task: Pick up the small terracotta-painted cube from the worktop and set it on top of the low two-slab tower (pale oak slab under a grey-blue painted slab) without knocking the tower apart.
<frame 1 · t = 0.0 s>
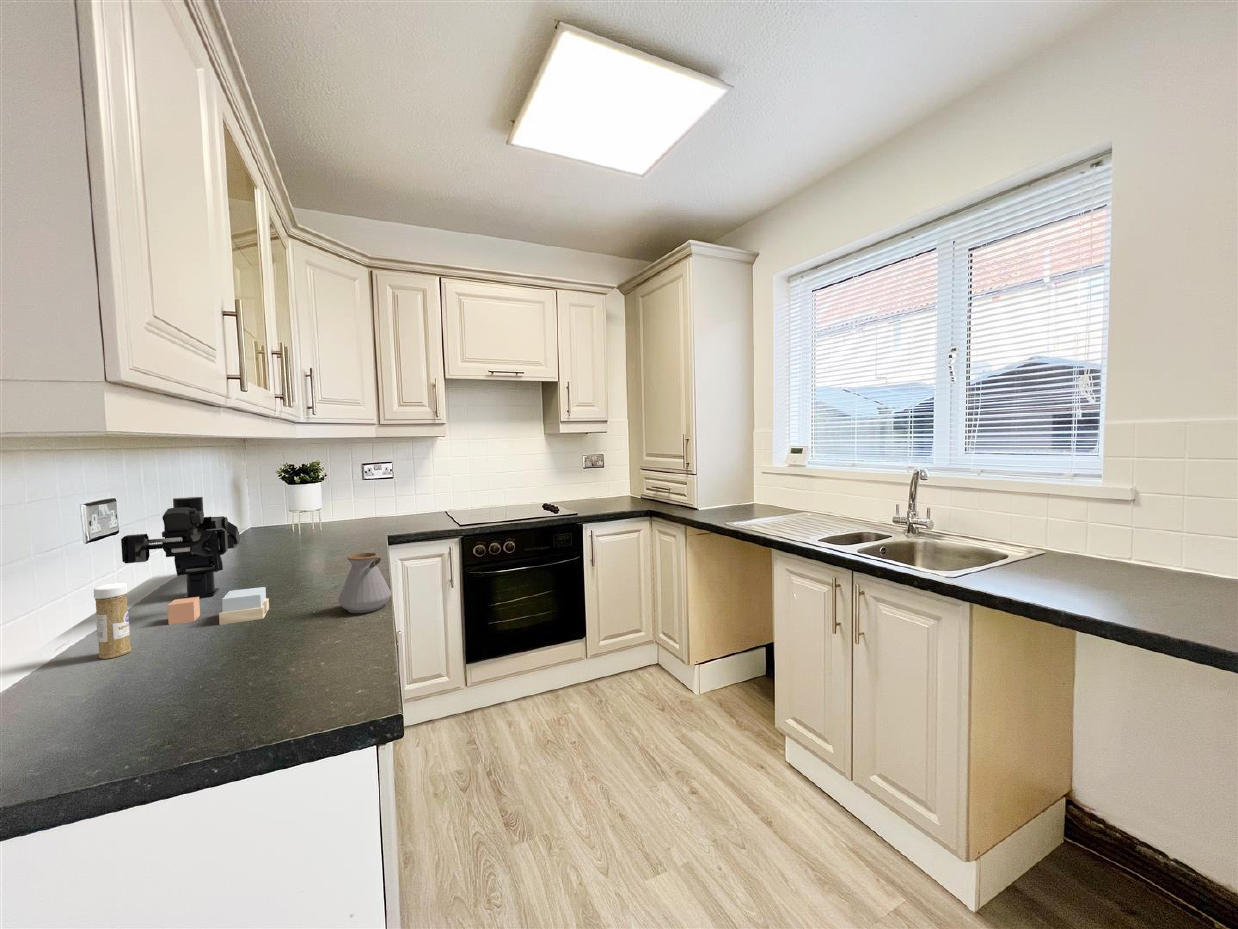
hand: (164, 552, 110), 17 cm above the countertop, tool horizontal, fingers open, 9 cm apart
oak base slab: (245, 618, 117), on the countertop, touching grey-blue top slab
grey-blue top slab: (245, 605, 117), point 3 cm above the countertop, touching oak base slab
coffee pot: (370, 614, 118), on the countertop
sprinkles bottle: (115, 655, 96), on the countertop
terracotta cube: (184, 620, 115), on the countertop
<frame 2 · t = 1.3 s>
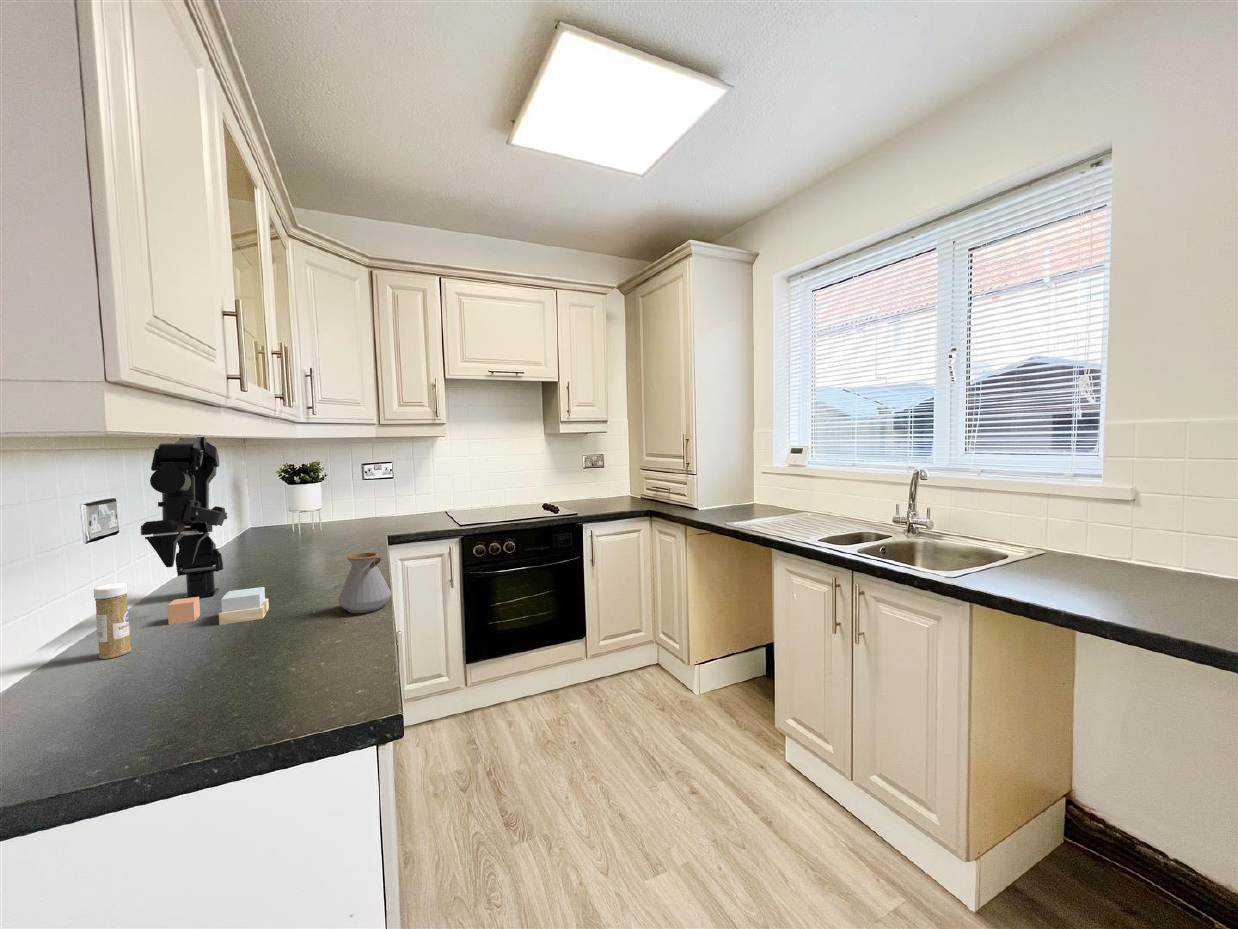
hand: (180, 565, 114), 13 cm above the countertop, tool pointing down, fingers open, 9 cm apart
oak base slab: (245, 618, 117), on the countertop
grey-blue top slab: (244, 605, 117), point 2 cm above the countertop
everything else where it was.
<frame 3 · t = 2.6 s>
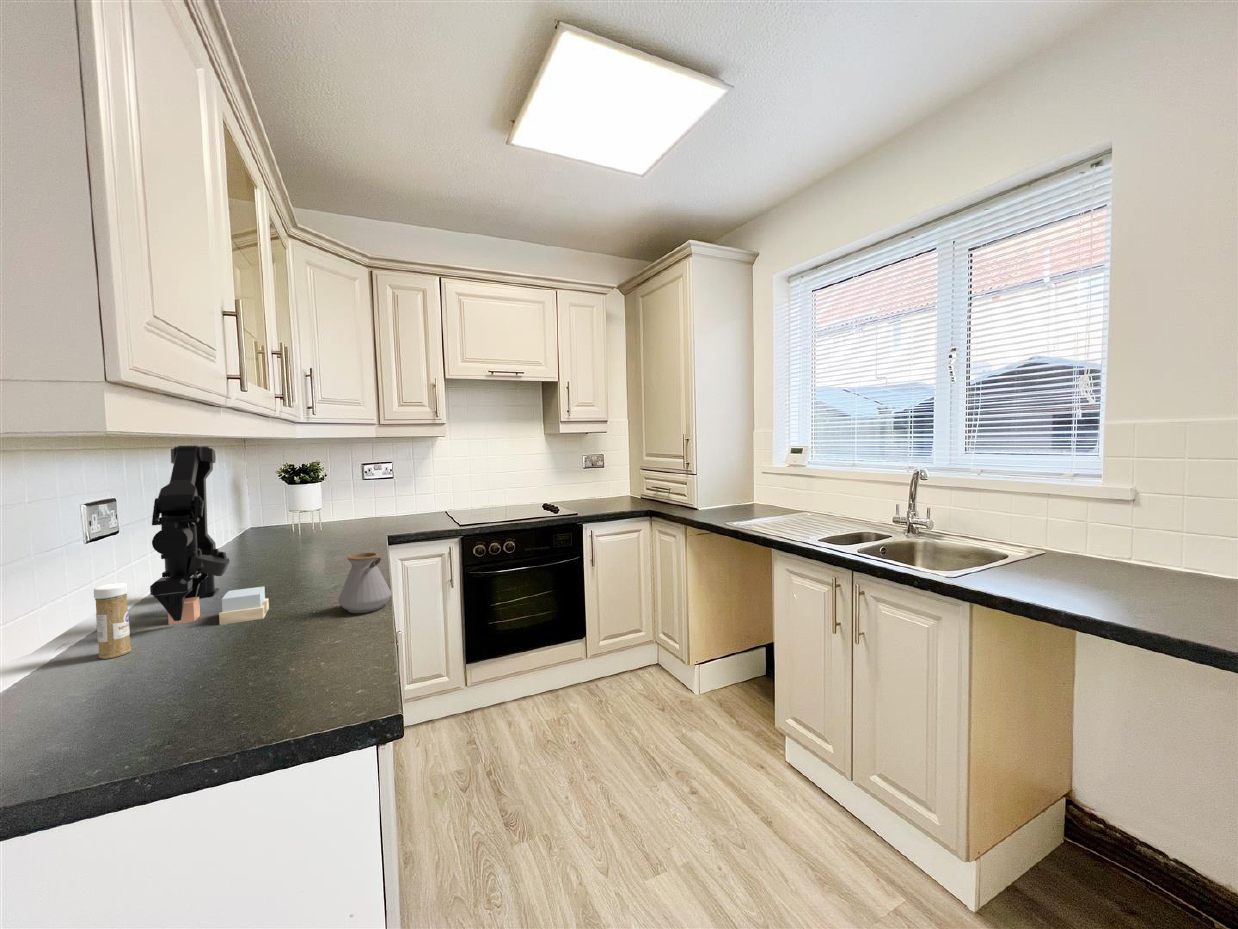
hand: (184, 614, 115), 1 cm above the countertop, tool pointing down, fingers open, 9 cm apart
oak base slab: (245, 618, 117), on the countertop, touching grey-blue top slab
grey-blue top slab: (244, 605, 117), point 3 cm above the countertop, touching oak base slab
everything else where it was.
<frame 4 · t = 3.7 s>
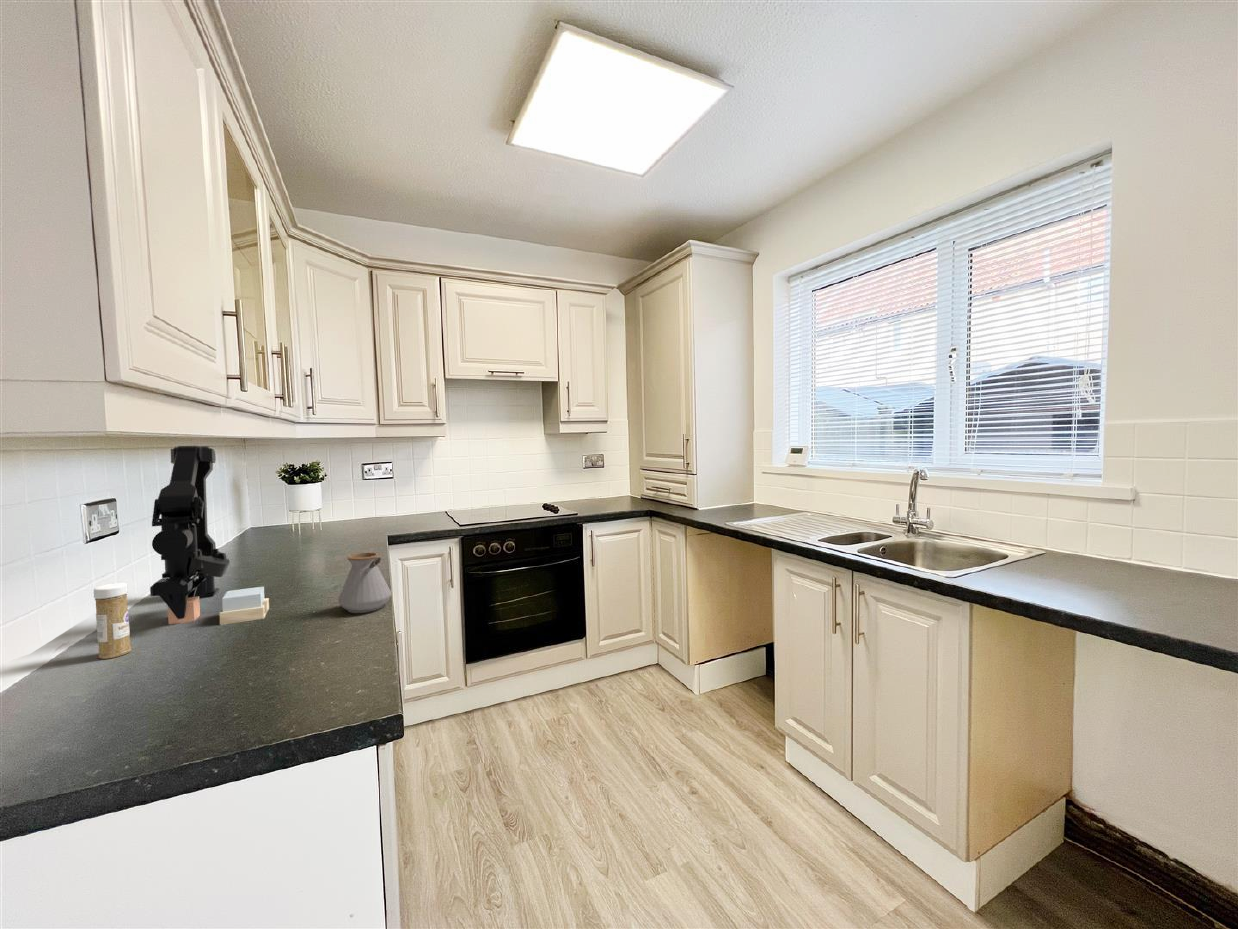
hand: (184, 615, 115), 1 cm above the countertop, tool pointing down, fingers closed on terracotta cube, 4 cm apart
terracotta cube: (184, 619, 115), on the countertop, touching gripper
everything else where it was.
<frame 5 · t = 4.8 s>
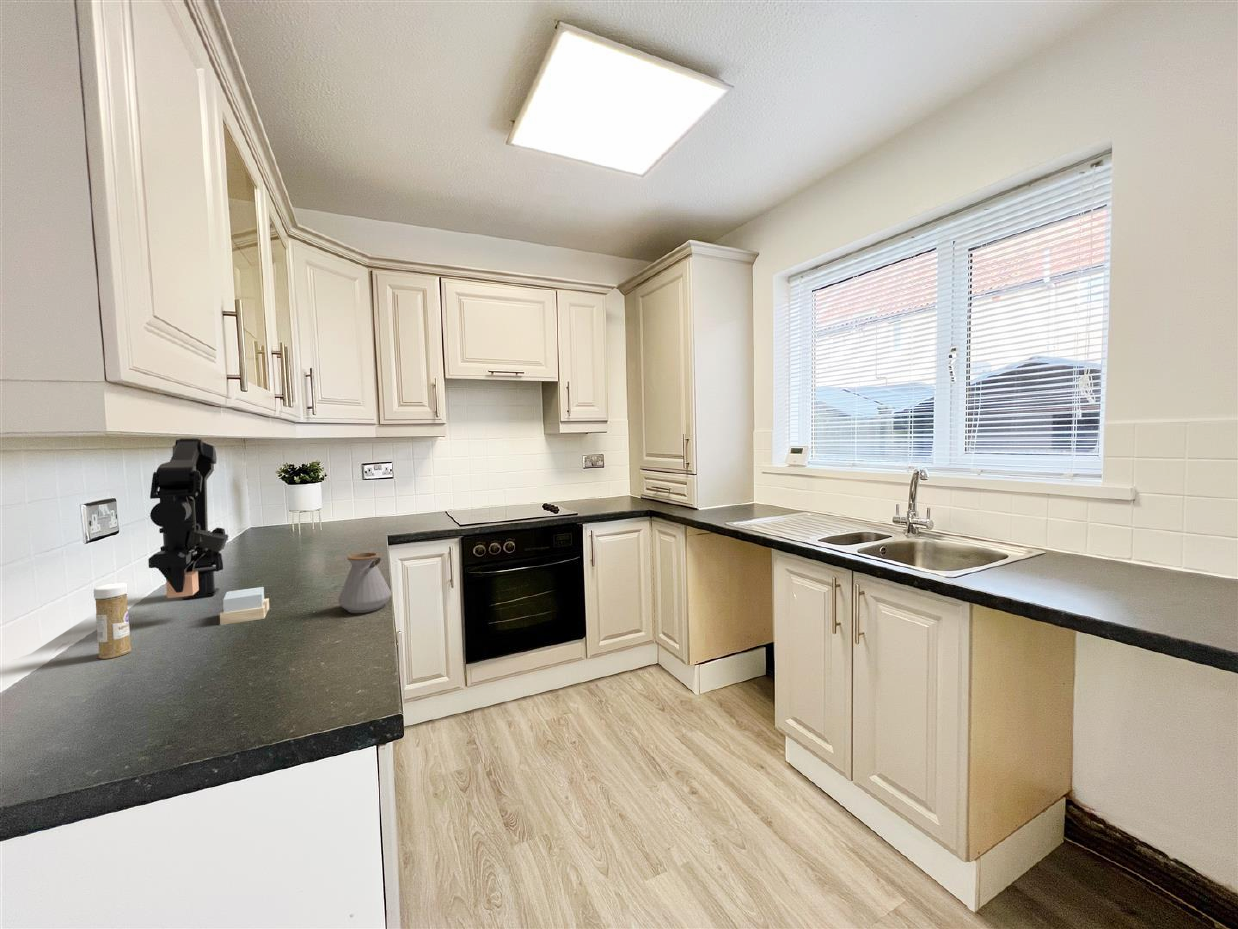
hand: (183, 589, 115), 7 cm above the countertop, tool pointing down, fingers closed on terracotta cube, 4 cm apart
terracotta cube: (183, 594, 115), point 6 cm above the countertop, touching gripper
everything else where it was.
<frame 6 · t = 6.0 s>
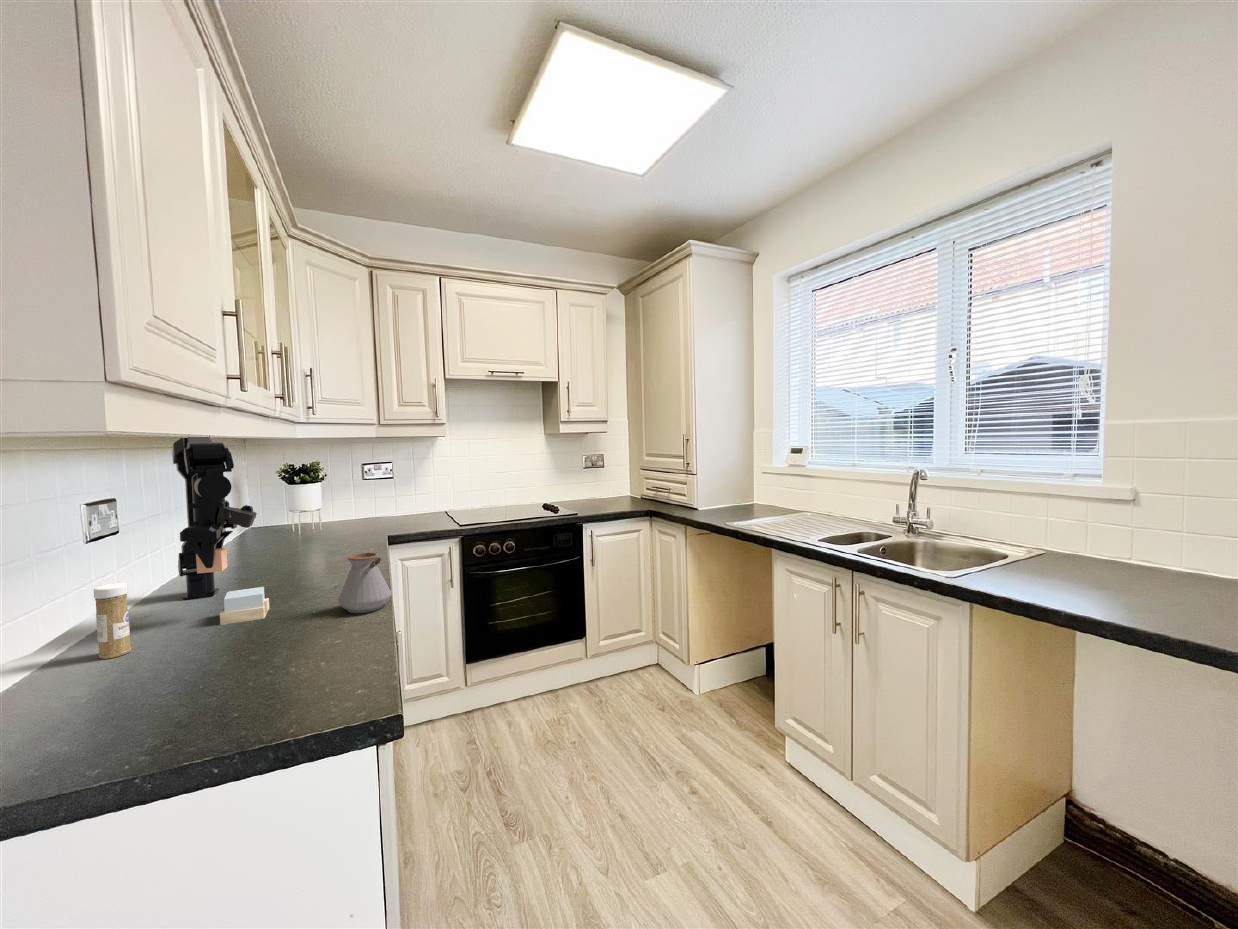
hand: (212, 565, 115), 12 cm above the countertop, tool pointing down, fingers closed on terracotta cube, 4 cm apart
terracotta cube: (212, 570, 115), point 11 cm above the countertop, touching gripper
everything else where it was.
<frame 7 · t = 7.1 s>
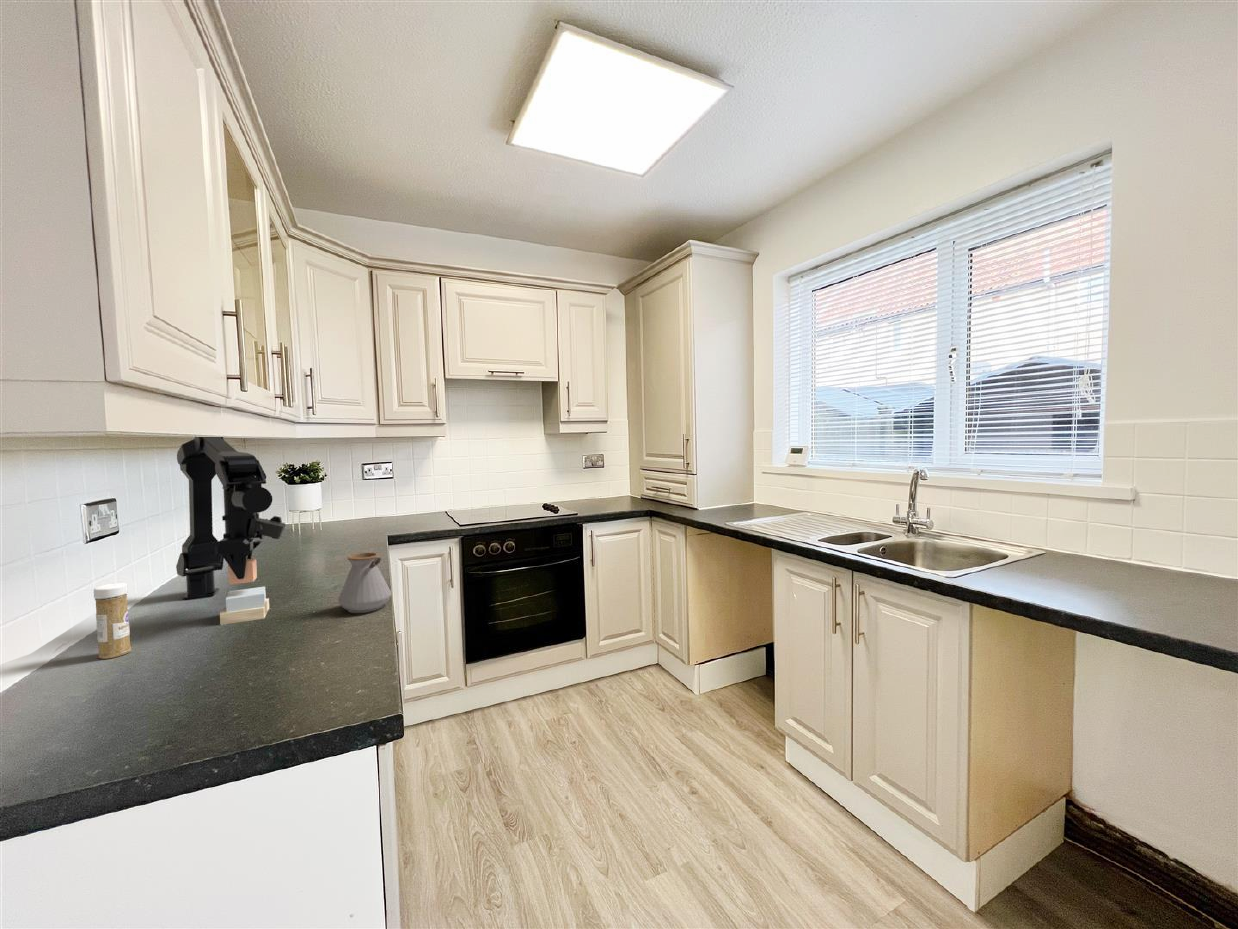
hand: (243, 576, 116), 9 cm above the countertop, tool pointing down, fingers closed on terracotta cube, 4 cm apart
terracotta cube: (243, 580, 117), point 8 cm above the countertop, touching gripper
everything else where it was.
when the fingers open (8 cm above the countertop, at t = 8.1 s): terracotta cube drops 1 cm, resting on grey-blue top slab.
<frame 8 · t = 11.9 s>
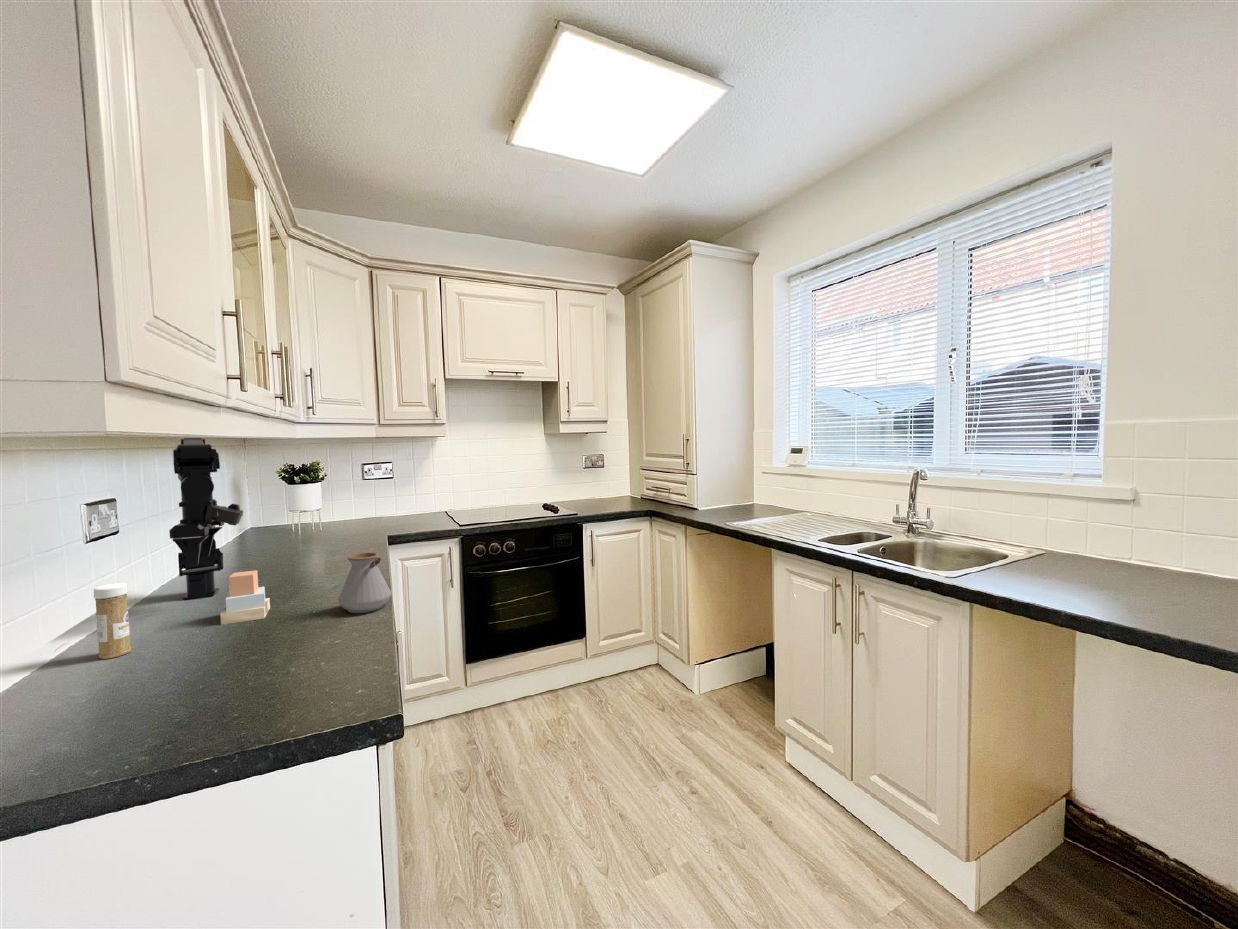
hand: (200, 561, 121), 12 cm above the countertop, tool pointing down, fingers open, 9 cm apart
grey-blue top slab: (246, 605, 117), point 3 cm above the countertop, touching oak base slab, terracotta cube
terracotta cube: (244, 592, 117), point 6 cm above the countertop, touching grey-blue top slab
everything else where it was.
at the end: terracotta cube 0.2 cm off-centre on the oak base slab, point 6.0 cm above the oak base slab's base; terracotta cube tilted 0°; grey-blue top slab 0.2 cm off-centre on the oak base slab, point 3.0 cm above the oak base slab's base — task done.
